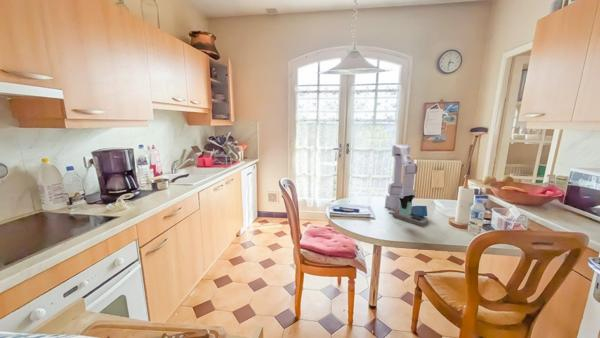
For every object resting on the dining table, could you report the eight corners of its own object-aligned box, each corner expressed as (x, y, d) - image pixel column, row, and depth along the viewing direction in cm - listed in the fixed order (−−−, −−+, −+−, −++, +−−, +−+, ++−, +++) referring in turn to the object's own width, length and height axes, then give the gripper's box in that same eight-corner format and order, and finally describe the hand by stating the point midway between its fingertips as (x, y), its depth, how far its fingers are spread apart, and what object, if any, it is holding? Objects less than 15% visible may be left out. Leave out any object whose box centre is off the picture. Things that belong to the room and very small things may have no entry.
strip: (386, 214, 155) (386, 210, 154) (391, 212, 159) (392, 207, 158) (422, 227, 138) (422, 222, 137) (427, 223, 143) (427, 218, 142)
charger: (399, 212, 140) (400, 201, 139) (402, 211, 143) (403, 199, 141) (407, 215, 136) (409, 203, 135) (410, 213, 139) (412, 202, 137)
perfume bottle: (427, 216, 147) (407, 215, 147) (422, 216, 153) (403, 215, 153) (426, 205, 148) (406, 205, 148) (421, 206, 154) (402, 206, 154)
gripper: (409, 188, 128) (406, 212, 131) (420, 183, 138) (418, 206, 141) (396, 185, 133) (394, 209, 136) (408, 181, 143) (406, 203, 146)
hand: (405, 207), depth 139 cm, fingers closed on charger, 4 cm apart
